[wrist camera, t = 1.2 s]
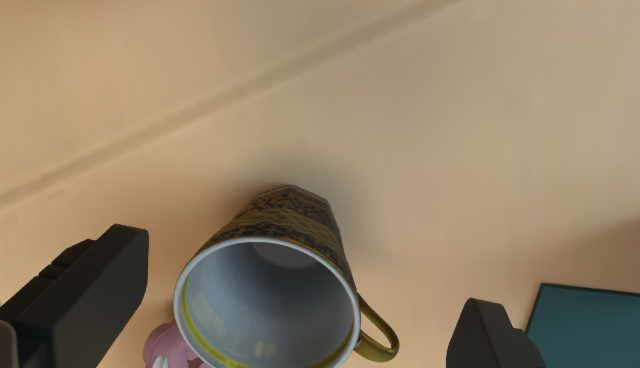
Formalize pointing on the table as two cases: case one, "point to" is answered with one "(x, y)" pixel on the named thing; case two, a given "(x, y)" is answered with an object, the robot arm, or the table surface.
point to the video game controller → (169, 349)
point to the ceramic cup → (276, 290)
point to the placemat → (586, 327)
